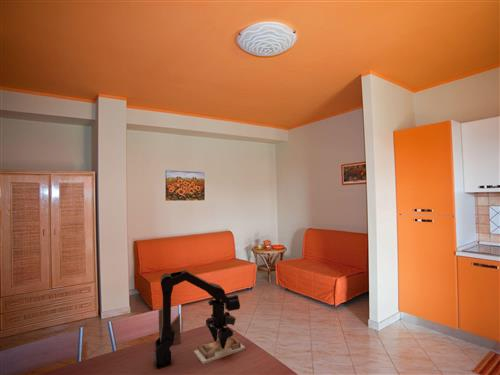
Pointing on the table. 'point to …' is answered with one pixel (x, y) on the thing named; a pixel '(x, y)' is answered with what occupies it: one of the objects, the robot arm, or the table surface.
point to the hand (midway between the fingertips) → (219, 344)
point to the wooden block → (174, 323)
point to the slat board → (213, 355)
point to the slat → (218, 346)
